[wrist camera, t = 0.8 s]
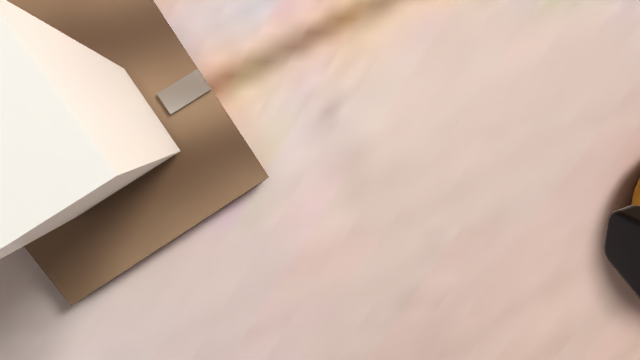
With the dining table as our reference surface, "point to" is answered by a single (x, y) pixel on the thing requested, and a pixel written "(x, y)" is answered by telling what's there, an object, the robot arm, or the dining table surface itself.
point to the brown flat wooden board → (165, 179)
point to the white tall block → (65, 129)
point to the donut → (636, 195)
